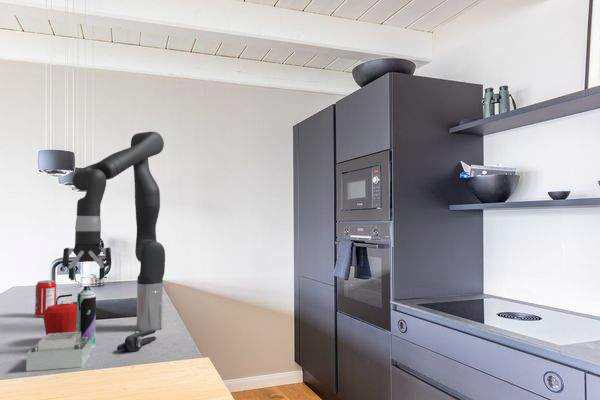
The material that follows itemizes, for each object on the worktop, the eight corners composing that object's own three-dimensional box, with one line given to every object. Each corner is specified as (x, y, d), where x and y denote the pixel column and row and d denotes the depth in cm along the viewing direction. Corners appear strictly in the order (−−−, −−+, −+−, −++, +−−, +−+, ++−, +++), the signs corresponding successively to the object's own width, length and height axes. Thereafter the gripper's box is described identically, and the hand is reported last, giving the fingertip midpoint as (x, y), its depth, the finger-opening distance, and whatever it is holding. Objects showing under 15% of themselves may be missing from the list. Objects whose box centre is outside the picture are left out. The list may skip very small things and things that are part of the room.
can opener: (133, 355, 137) (134, 337, 137) (114, 353, 139) (114, 335, 139) (164, 340, 154) (164, 323, 155) (146, 339, 156) (146, 322, 156)
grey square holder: (90, 354, 137) (91, 329, 137) (81, 367, 126) (82, 340, 126) (40, 358, 134) (40, 332, 134) (26, 371, 122) (26, 343, 122)
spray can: (87, 350, 141) (88, 287, 142) (72, 349, 142) (73, 286, 143) (98, 346, 146) (99, 284, 147) (83, 345, 147) (85, 284, 148)
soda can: (49, 318, 188) (49, 282, 189) (30, 317, 188) (31, 282, 189) (59, 314, 196) (60, 279, 197) (41, 314, 196) (42, 279, 197)
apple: (72, 335, 160) (73, 297, 160) (82, 341, 152) (83, 301, 153) (39, 341, 152) (40, 301, 153) (48, 347, 145) (49, 305, 146)
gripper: (113, 229, 151) (112, 277, 151) (67, 229, 148) (65, 278, 147) (109, 230, 144) (108, 280, 143) (61, 230, 141) (59, 281, 140)
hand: (86, 279), depth 145 cm, fingers open, 8 cm apart
